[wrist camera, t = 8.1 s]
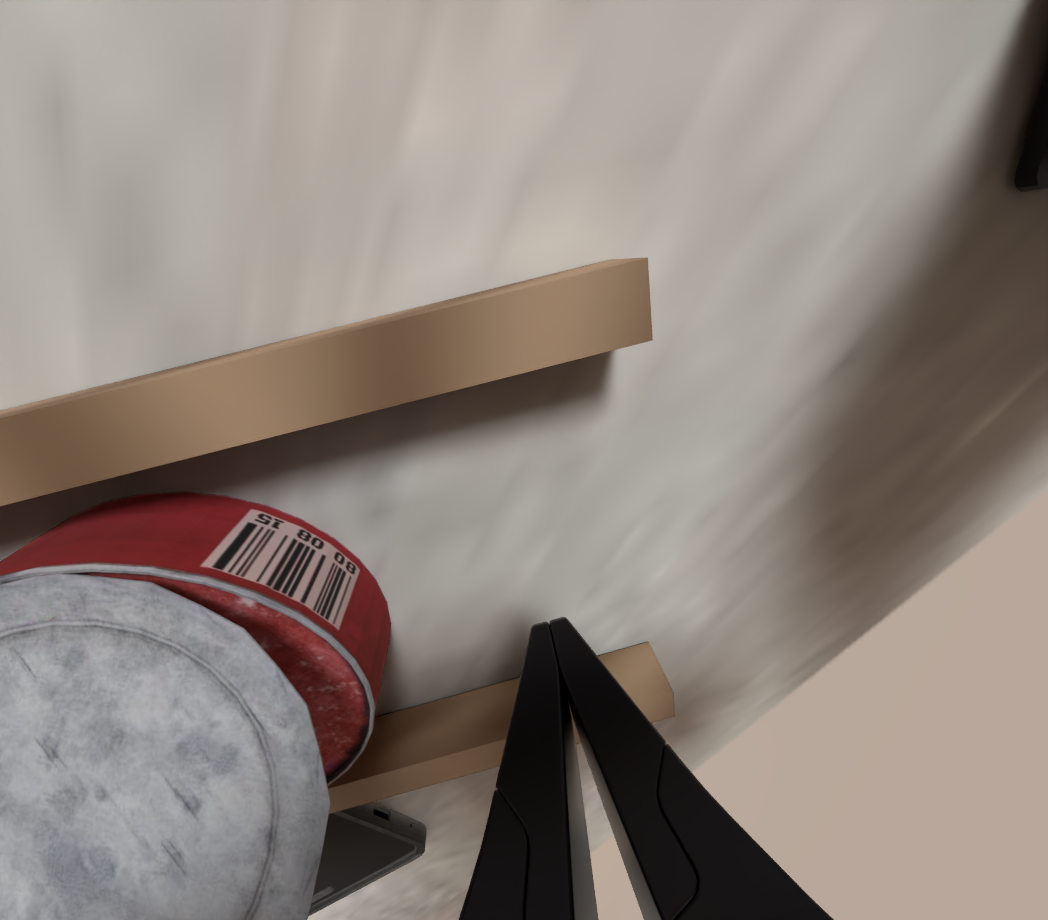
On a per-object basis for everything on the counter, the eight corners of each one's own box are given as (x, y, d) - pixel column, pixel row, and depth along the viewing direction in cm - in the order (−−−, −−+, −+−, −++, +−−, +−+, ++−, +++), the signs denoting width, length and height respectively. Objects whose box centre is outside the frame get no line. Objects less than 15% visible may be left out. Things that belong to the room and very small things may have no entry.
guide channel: (610, 259, 9) (647, 257, 7) (650, 665, 16) (674, 716, 14) (-384, 506, 8) (-617, 571, 6) (111, 815, 15) (64, 888, 13)
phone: (60, 941, 17) (303, 797, 15) (81, 905, 18) (313, 765, 16) (219, 964, 21) (436, 850, 19) (230, 932, 22) (438, 820, 20)
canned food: (181, 584, 17) (-403, 870, 7) (249, 398, 13) (-831, 520, 3) (376, 772, 16) (-21, 1365, 6) (515, 635, 12) (-2, 1671, 2)
